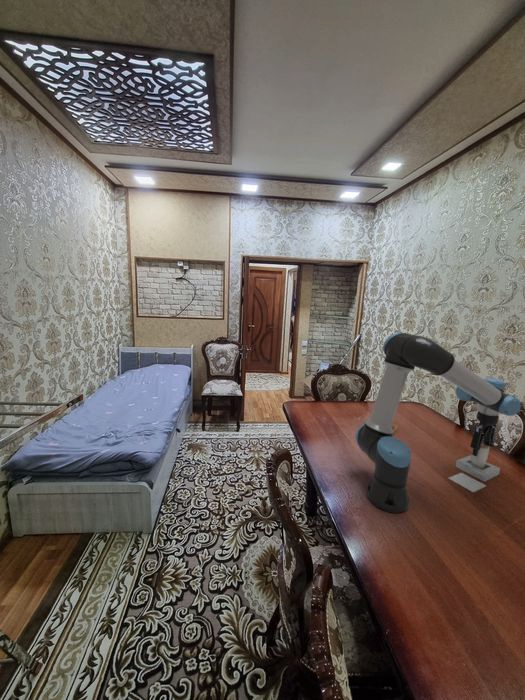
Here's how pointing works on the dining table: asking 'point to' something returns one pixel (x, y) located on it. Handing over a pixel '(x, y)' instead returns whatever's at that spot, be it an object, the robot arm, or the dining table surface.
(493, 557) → the dining table surface
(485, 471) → the housing
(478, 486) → the pad
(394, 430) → the bracket
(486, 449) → the off-white cylinder
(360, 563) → the dining table surface
